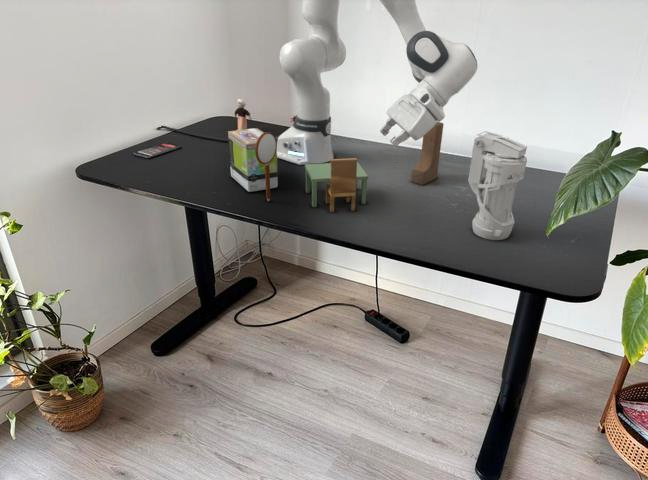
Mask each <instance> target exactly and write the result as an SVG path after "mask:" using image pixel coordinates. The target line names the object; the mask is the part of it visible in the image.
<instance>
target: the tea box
mask: <svg viewBox="0 0 648 480" xmlns="http://www.w3.org/2000/svg"><path fill="white" fill-rule="evenodd" d="M263 133H265V131H263V130H261V129H259V128H258V127H254V128H247V129H245V130H237V129H236V130H229V131H227V139H228V140H229V142H228V154H229V163H230V164H229V166H230V167H229V168H230V177H231V178H233V179H234V180H235V181H236V182H237V183H238V184H239V185H240V186H241V187H243V188H244V189H245V190H246V191H247V192H248V193H252V192H259V191H266V180H265V164H262V163H260V162H259V161H258V160H257V158H256V154H255V147H256V143H257V140H258V138H259V137H260V136H261V135H262V134H263ZM276 142H277V141H276ZM268 164H269V174H270V189H274V188H275V189H276V188H278V186H279V185H278V184H279V183H278V182H279V181H278V179H279V177H278V158H277V149H276V153H275V156H274V158H273V159H272V161H271V162H269V163H268Z"/></svg>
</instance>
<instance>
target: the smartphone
mask: <svg viewBox="0 0 648 480" xmlns="http://www.w3.org/2000/svg"><path fill="white" fill-rule="evenodd" d="M179 148H181V145H180V144H177V143H172V142H168V141H164V142H161V143H158V144H155V145H152V146H149V147H146V148H142V149H140V150H136V151H134V152H133V155H134V156H136V157H137V156H138V157H141V158H145V159H151V158H154V157H158V156H161V155H163V154H165V153H169V152H172V151H175V150H177V149H179Z"/></svg>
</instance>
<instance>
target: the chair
mask: <svg viewBox="0 0 648 480" xmlns="http://www.w3.org/2000/svg"><path fill="white" fill-rule="evenodd" d="M357 162H358V158H356V157H355V158H354V157H353V158H333V159H331V161H330V163H331V178H330V183H328V184H325V204H329V212H330V213H335V198H342V197H343V198H344V197H345V203H350V211H351V212H354V211H356V192H357V190H356V174H357Z"/></svg>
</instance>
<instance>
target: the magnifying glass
mask: <svg viewBox="0 0 648 480" xmlns="http://www.w3.org/2000/svg"><path fill="white" fill-rule="evenodd" d="M275 137H276V136H275V135H274V134H273V133H272V132H270V131H266V132H265V131H264V133H263V134H262V135H261V136H260V137H259V138H258V140H257V143H256V147H255V154H256V158H257V160H258V161H259V162H260V163H262V164H265V180H266V189H265V199H266V200H267V202H270V201H271V188H270V174H269V164H268V163H269V162H271V161H272V159H273V158H274V156H275V153H276V149H277V142H276V138H275Z"/></svg>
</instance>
